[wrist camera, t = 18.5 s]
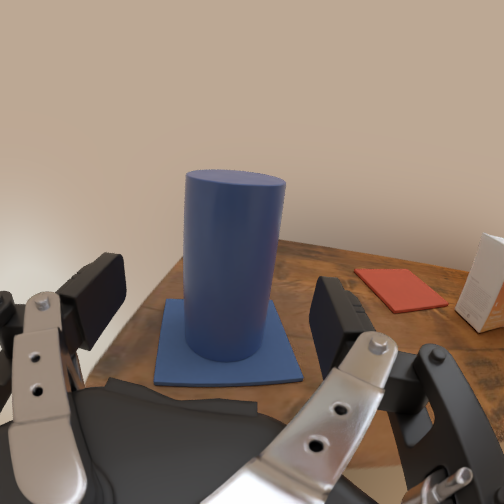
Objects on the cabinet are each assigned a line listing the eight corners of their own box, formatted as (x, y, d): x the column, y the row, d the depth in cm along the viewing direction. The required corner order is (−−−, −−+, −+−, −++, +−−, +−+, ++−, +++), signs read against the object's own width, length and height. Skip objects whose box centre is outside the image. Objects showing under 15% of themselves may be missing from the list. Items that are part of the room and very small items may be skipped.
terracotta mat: (406, 271, 37) (407, 268, 37) (447, 306, 28) (448, 303, 28) (353, 271, 35) (354, 268, 35) (393, 313, 26) (395, 310, 26)
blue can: (233, 306, 25) (245, 169, 20) (278, 343, 21) (307, 185, 16) (172, 325, 21) (170, 170, 16) (211, 374, 17) (220, 186, 12)
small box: (478, 335, 22) (514, 250, 18) (452, 309, 27) (481, 231, 23) (506, 326, 23) (536, 254, 19) (483, 305, 28) (508, 237, 24)
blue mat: (271, 303, 27) (272, 300, 26) (302, 381, 17) (303, 377, 17) (166, 302, 25) (166, 298, 24) (154, 385, 16) (153, 381, 15)
